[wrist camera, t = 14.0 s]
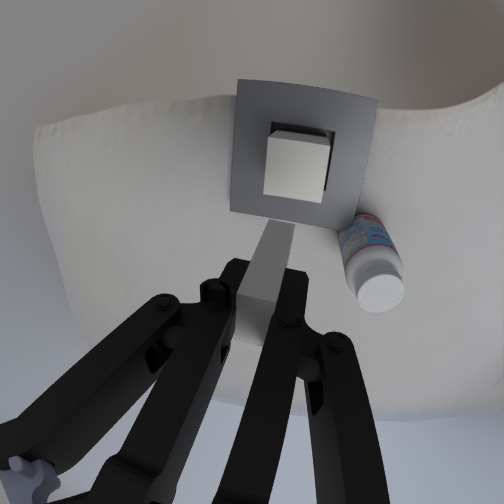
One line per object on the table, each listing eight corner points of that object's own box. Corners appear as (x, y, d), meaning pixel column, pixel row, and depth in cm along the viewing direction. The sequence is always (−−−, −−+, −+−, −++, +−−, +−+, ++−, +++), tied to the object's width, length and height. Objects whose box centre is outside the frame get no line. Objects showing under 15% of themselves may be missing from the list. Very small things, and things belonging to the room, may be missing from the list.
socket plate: (243, 80, 26) (237, 79, 24) (373, 100, 24) (377, 100, 22) (235, 203, 34) (229, 211, 32) (348, 223, 32) (350, 232, 30)
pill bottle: (393, 236, 31) (422, 294, 22) (357, 264, 34) (372, 328, 25) (365, 202, 30) (391, 254, 20) (327, 234, 33) (336, 295, 23)
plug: (280, 127, 27) (268, 137, 21) (326, 134, 27) (330, 146, 20) (275, 170, 30) (263, 194, 24) (320, 177, 29) (321, 203, 23)
